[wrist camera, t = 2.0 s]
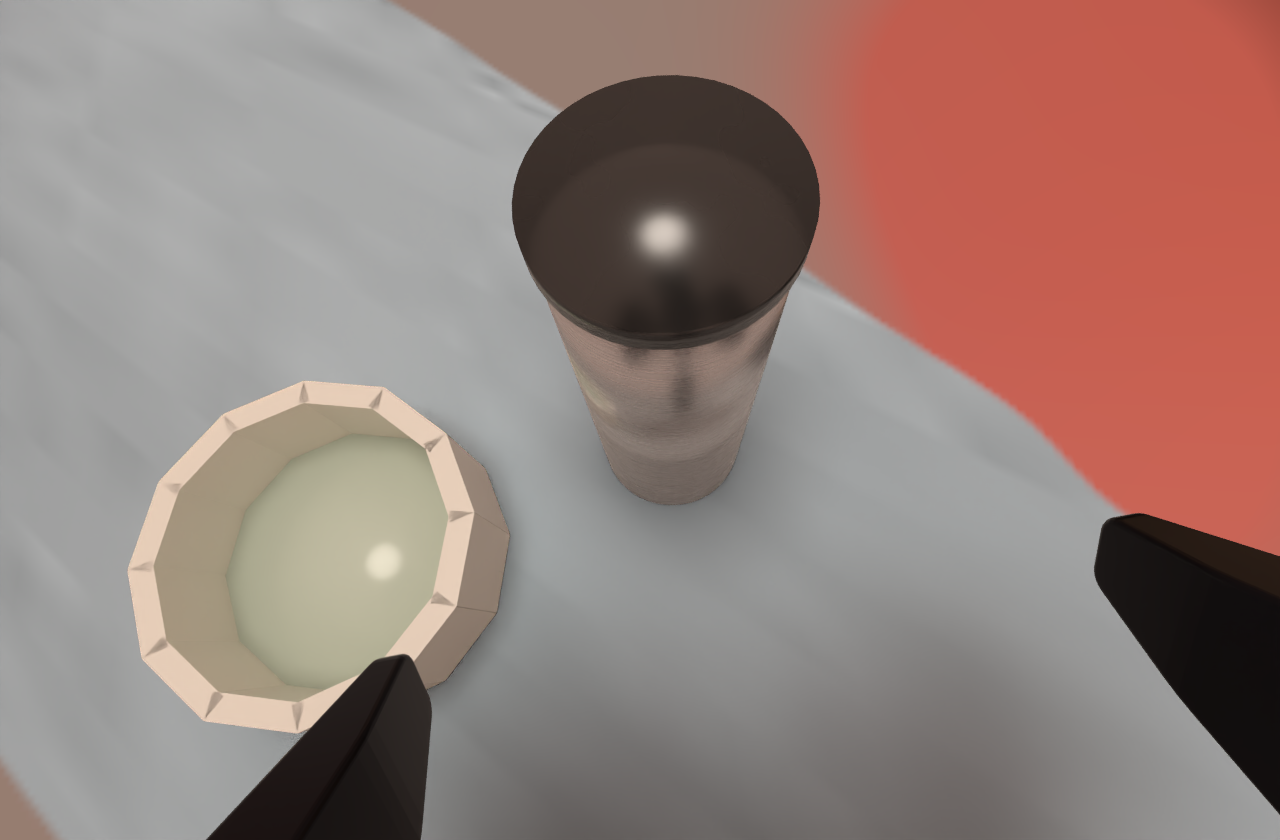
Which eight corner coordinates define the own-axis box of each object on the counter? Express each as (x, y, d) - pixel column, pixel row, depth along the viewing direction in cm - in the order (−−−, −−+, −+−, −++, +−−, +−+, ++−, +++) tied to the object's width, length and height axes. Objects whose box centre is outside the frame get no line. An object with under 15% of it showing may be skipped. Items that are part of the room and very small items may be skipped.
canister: (765, 472, 22) (879, 254, 9) (636, 531, 21) (579, 383, 9) (704, 355, 23) (732, 37, 11) (581, 408, 23) (470, 139, 11)
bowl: (546, 633, 20) (517, 632, 17) (262, 765, 20) (163, 795, 16) (454, 385, 23) (411, 336, 20) (204, 490, 23) (110, 460, 19)
